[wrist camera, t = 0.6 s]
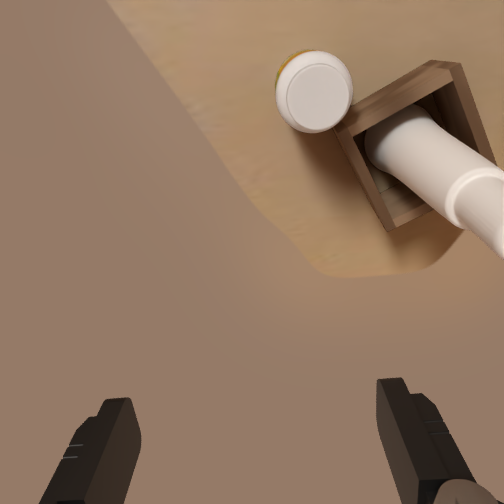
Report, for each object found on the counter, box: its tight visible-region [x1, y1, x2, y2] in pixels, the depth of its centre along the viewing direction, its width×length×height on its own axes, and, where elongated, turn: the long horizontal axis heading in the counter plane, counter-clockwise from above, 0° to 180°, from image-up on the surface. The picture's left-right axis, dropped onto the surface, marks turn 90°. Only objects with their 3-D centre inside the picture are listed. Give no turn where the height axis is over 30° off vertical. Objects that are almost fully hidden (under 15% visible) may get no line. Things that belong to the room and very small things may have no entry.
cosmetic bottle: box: [365, 104, 504, 260], centre depth 27 cm, size 6×6×22 cm
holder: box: [332, 60, 497, 232], centre depth 34 cm, size 9×9×6 cm
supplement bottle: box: [275, 50, 353, 133], centre depth 31 cm, size 5×5×10 cm
